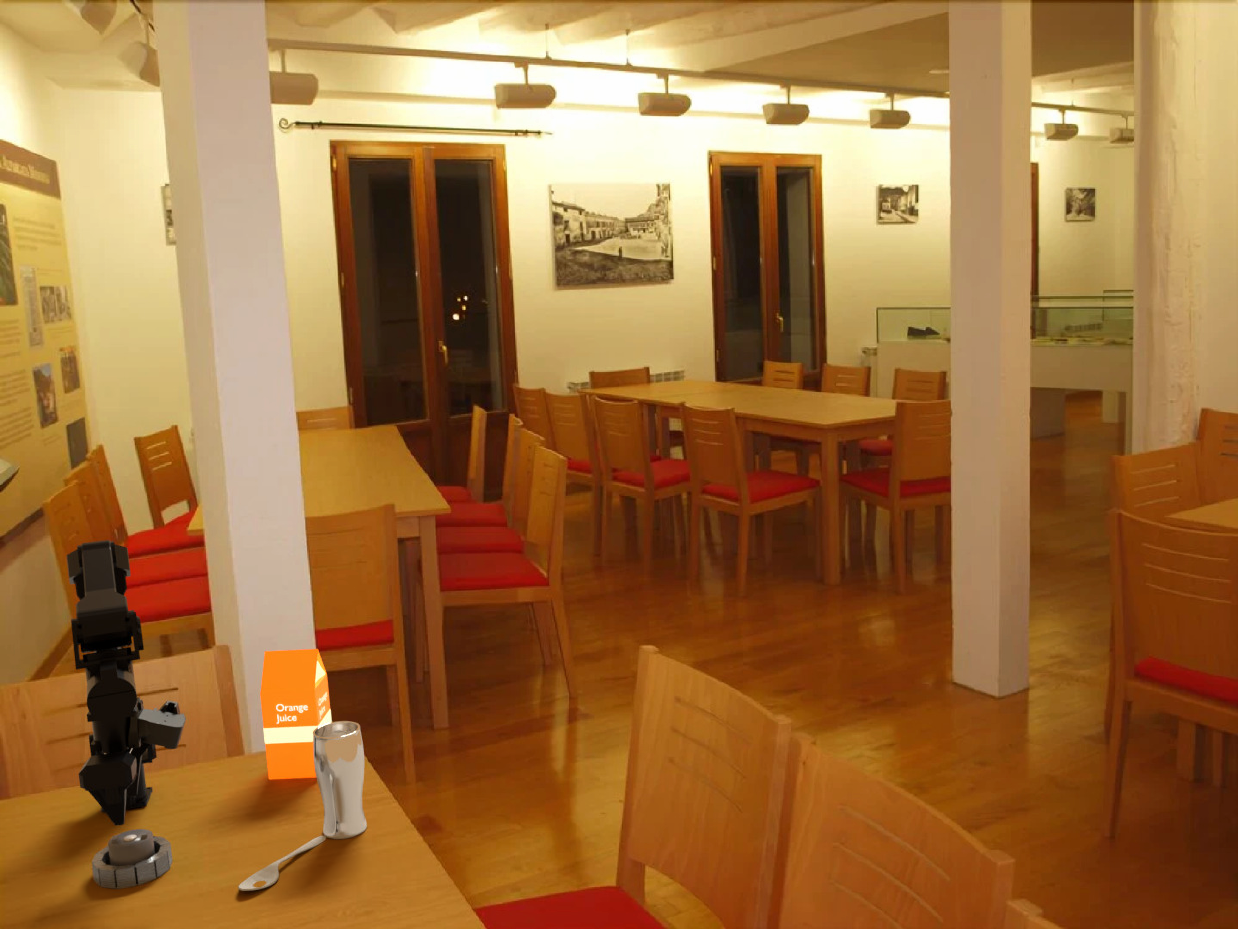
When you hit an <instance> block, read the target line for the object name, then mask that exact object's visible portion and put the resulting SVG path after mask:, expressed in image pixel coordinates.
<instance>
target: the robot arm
mask: <svg viewBox="0 0 1238 929" xmlns="http://www.w3.org/2000/svg"><path fill="white" fill-rule="evenodd" d="M76 546H77V547H76V548H77V549H75V550H74V551H72V552H70V553H68V554H66V564H67V574H68V580H69V584H70V585H75V591H76V592H75V593H76V596H77V598H78V599H79V601H78V602H77V603H76V604H75V612H76V613H75V614H76V618H71V620H70V622H71V623H70V624H71V632H72V633H71V634H72V636H71V637H72V644H73V653H74V655H73V656H74V664H75V665H74V666H75V670H81V669H84V670H85V678H86V707H87V710H88V712H87V713H86V718H87V720H86V721H87V723H91V727H92V734H91V733H90V734H88V742H89V750H90V756H89V758H88V759H87V760H86V761H85V762H84V764H83V766H82V768H81V769H80V771H79V772H78V779H79V780H78V781H79V787H80V789H84V791H85V792H89V794H90V795H91V796H92V797H93V799H95V801H96V802H97V803H98V805H99V806H100V807H101V808H100V812H101V813H105V814H106V815H107V817H108V818H109V819H110V821H111V822H112V824H113V825H114V826H115V827H119V826H123V825H124V824H125V820H126V819H125V818H126V810H129V809H136V808H143V807H146V806H147V805H148V803H149V800H150V798H151V795H152V793H153V790H154V789H153V786H147V782H146V775H145V766H144V764H153V761H154V759H157V758H158V757H157V749H156V746H160V747H164V748H165V749H168V750H175V749H177V748H178V746H179V744H180V741H181V739H182V735H183V730H184V727H185V724H186V720H187V717H186V716H185V713H184V712H183V713H181V710H180V706H179V702H177V701H173V700H166V701H165V703H164V704H162V706H161V707H160V708H159V709H158V708H157V707H154V708H153V709H147V708H144V700H143V699H141V697H140V696H138V695H137V694H138V693H137V688H136V682H135V674H134V673H135V672H134V665H133V664H134V663H133V661H136V660H140V659H141V656H140V651H144V650H145V648H144V641H143V640H144V638H143V633H142V632H143V631H142V624H141V618H140V616H138V615H137V612H136V611H135V610H134V609H131V610H129V607H128V599H127V596H126V595H125V594H126V592H127V590H128V585H127V584H128V583H127V578H128V577H131V576H132V575H131V567H130V566H131V565H130V559H129V550H128V547H127V546H122V545H119V544H116V543H115V541H114V540H109V539H106V540H98V541H90V542H82V543H81V544H79V545H76ZM132 641H133V642H132ZM132 644H133V647H134V649H133V650H132V647H131V646H132ZM80 652H81V653H82V658H81V657H80Z"/></svg>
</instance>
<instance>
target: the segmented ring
mask: <svg viewBox="0 0 1238 929" xmlns="http://www.w3.org/2000/svg"><path fill="white" fill-rule="evenodd" d="M153 841H154V849H155V855H154V856H152V857H151V858H149V859H147V860H144V861H141V862H139V863H136V864H131V865H125V866H112V865H111V864H110V856H109V849H108V845H107V846H105V847H104V848H102V849H100V851H98V852H96V854H94V857H93V859H92V861H91V866H92V869H91V870H92V874H93V882H95V883H96V884H97V885H98V886H99V887H101V888H108V889H115V890H116V889H124V888H125V889H126V888H132V887H136V886H141V885H143V884H146V883H149V882H151V881H153V880H156V879H157V878H159V877H161V876H162V875H164V874H165V873H167V872H168V871H169V870H170V869H171V867H172V863H173V855H172V845H171V842H170V841H169V840H167V839H166V838H165V837H163V836H155V835H153Z"/></svg>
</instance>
